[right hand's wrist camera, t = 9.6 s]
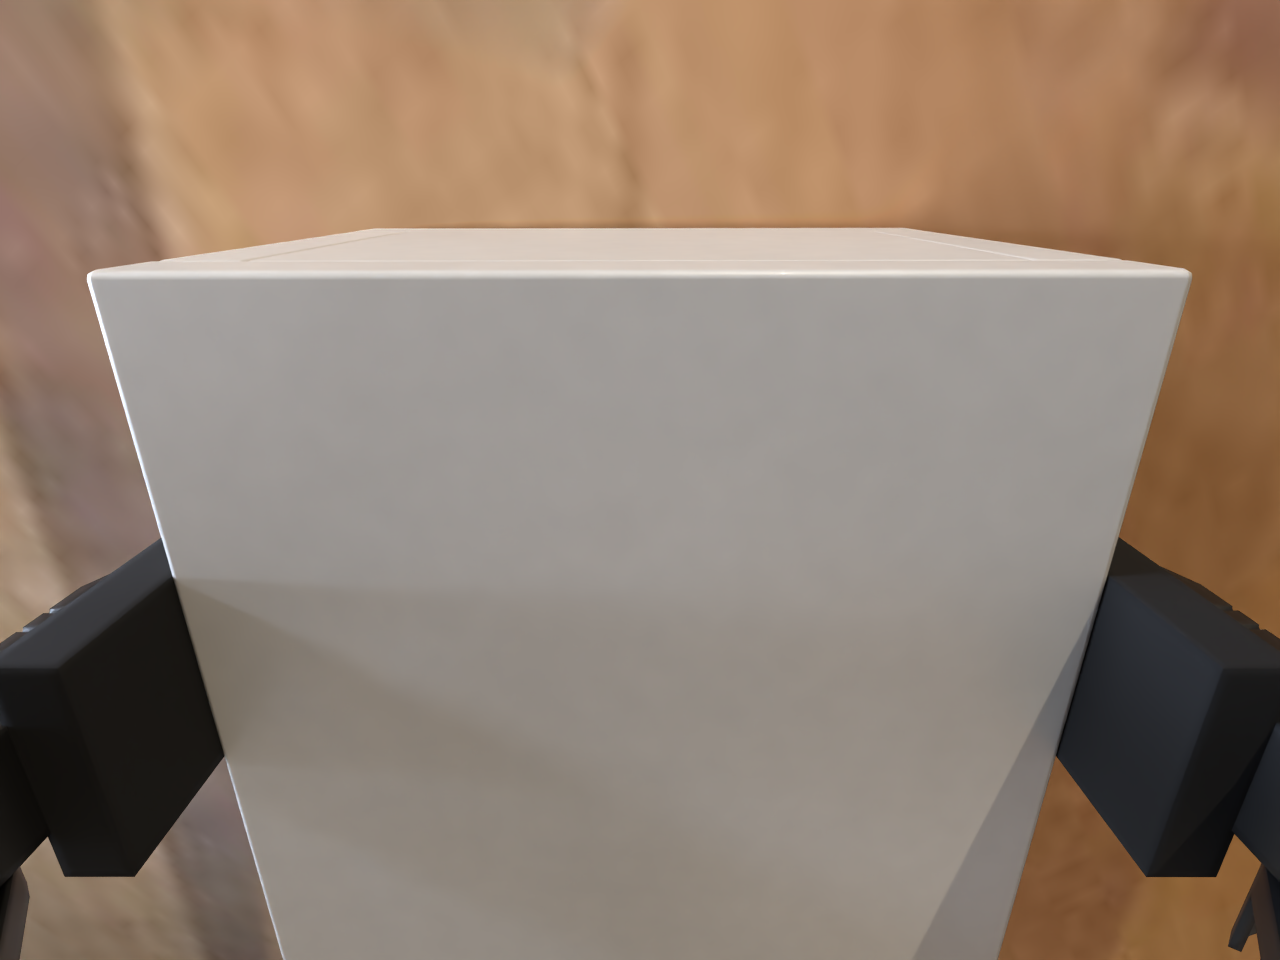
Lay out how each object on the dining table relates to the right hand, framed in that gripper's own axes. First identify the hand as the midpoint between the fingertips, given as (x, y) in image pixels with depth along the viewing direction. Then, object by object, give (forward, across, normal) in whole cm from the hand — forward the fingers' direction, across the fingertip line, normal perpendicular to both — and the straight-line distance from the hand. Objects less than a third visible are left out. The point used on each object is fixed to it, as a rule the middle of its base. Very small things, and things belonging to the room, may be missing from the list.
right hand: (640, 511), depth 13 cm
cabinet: (+3, 0, -4) cm, 6 cm away
